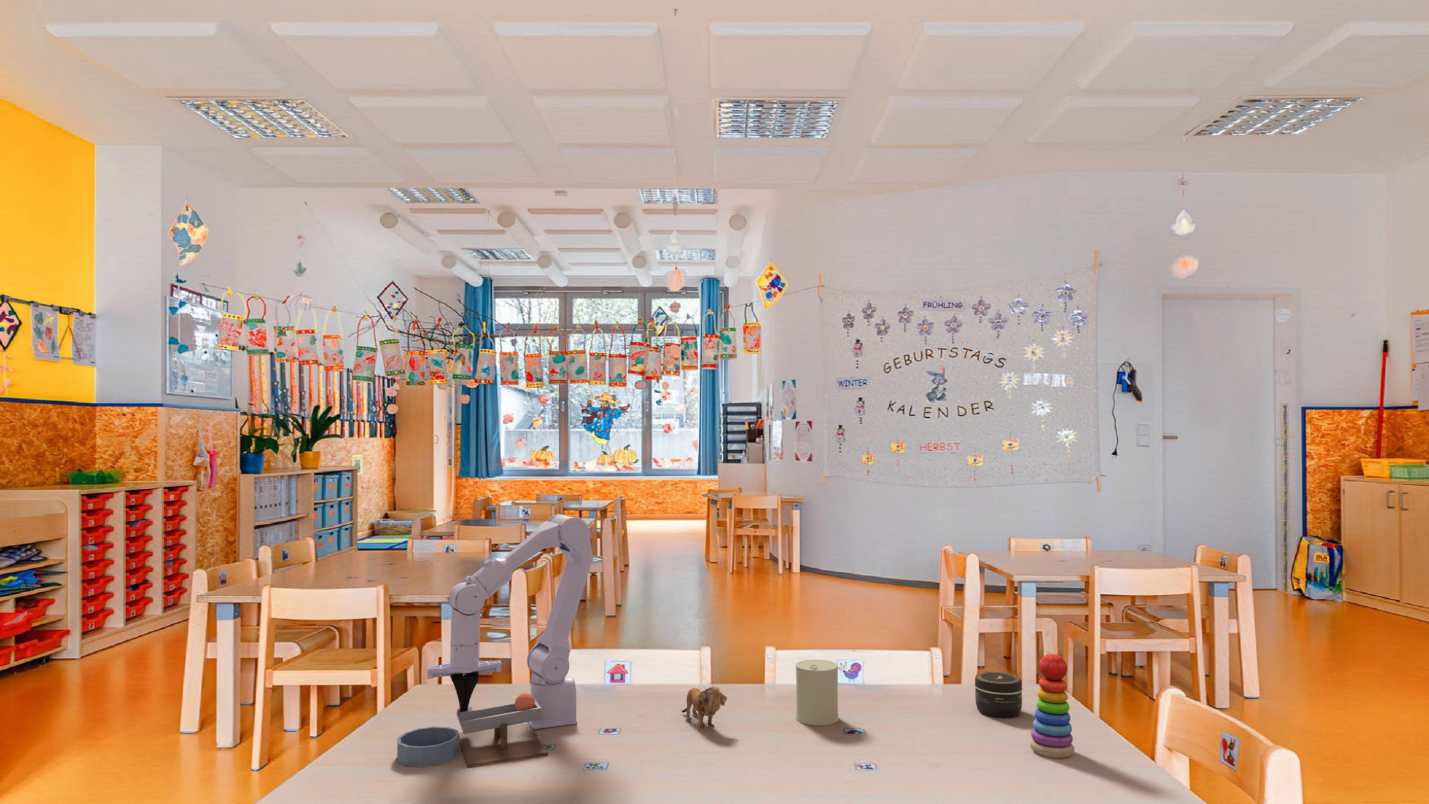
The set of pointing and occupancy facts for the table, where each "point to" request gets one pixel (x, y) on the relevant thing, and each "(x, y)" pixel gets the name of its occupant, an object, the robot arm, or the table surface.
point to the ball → (524, 702)
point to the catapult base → (501, 745)
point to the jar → (998, 694)
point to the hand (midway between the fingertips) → (463, 710)
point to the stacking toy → (1052, 711)
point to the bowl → (427, 746)
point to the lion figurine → (704, 704)
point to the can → (817, 692)
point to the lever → (496, 717)
